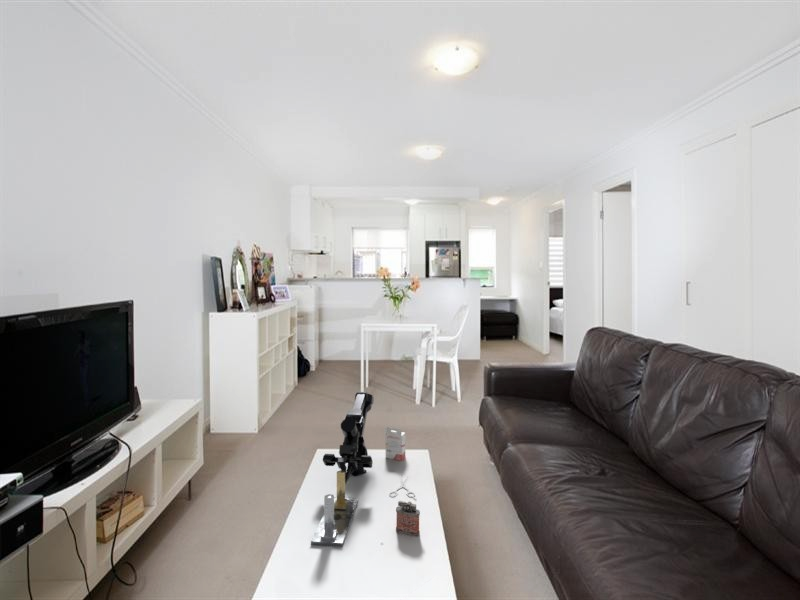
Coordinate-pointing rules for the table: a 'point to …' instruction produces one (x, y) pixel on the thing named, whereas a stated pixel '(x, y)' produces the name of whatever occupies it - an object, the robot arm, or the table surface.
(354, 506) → the bolt plate
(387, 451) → the ink cartridge box
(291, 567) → the table surface
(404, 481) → the scissors
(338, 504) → the gold tapered block
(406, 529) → the lighter
